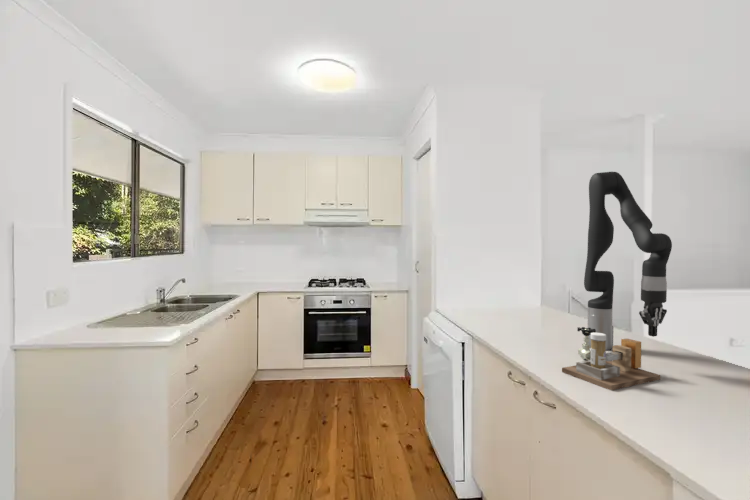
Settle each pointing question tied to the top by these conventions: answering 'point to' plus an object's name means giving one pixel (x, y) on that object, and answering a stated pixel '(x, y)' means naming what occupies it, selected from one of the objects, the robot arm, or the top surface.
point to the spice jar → (598, 350)
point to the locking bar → (635, 352)
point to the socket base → (612, 372)
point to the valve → (585, 349)
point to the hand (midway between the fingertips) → (652, 335)
